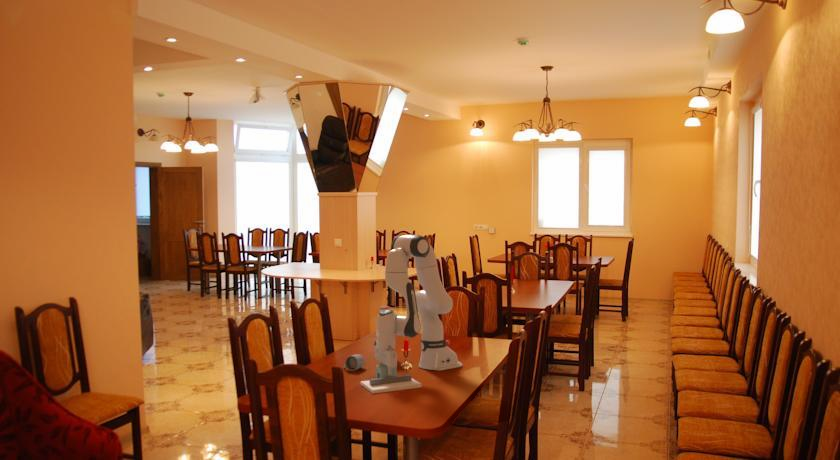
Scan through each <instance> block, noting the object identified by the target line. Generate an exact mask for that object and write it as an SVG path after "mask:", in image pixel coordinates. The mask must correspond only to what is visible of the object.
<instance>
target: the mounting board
mask: <svg viewBox="0 0 840 460" xmlns="http://www.w3.org/2000/svg"><path fill="white" fill-rule="evenodd" d="M359 382H360V383H359V385H360V386H362V387H363V388H365V389H366V391H368V392H370V393H371V394H379V393H381V394H382V393H387V392H395V391H403V390H411V389H417V388H419V389H420V388H423V387H422V385H423V384H422V383H421V382H419V381H418V380H415V379H414V378H412V381H406V382H398V383H390V384H382V385H374V386H371V385H370V379H368V380H361V381H359Z"/></svg>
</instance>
